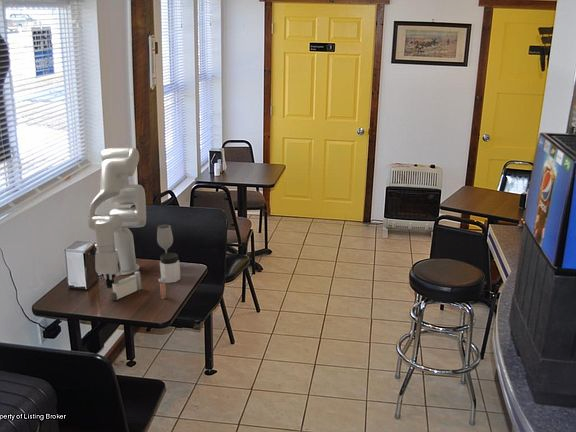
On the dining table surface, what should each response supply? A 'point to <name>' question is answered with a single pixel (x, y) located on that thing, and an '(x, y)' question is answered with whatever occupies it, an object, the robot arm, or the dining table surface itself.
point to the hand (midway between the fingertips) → (110, 287)
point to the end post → (162, 288)
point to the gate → (126, 286)
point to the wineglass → (164, 236)
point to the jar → (170, 267)
